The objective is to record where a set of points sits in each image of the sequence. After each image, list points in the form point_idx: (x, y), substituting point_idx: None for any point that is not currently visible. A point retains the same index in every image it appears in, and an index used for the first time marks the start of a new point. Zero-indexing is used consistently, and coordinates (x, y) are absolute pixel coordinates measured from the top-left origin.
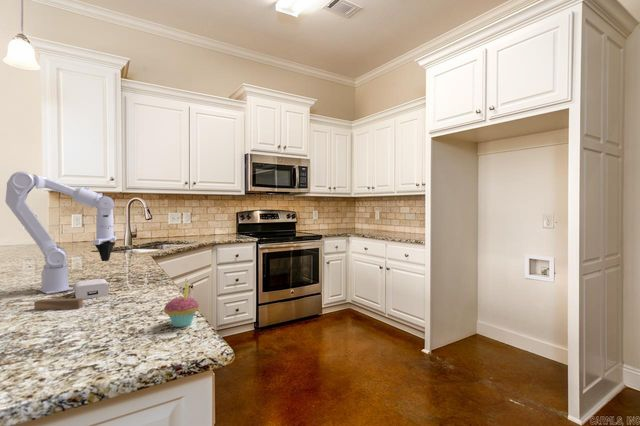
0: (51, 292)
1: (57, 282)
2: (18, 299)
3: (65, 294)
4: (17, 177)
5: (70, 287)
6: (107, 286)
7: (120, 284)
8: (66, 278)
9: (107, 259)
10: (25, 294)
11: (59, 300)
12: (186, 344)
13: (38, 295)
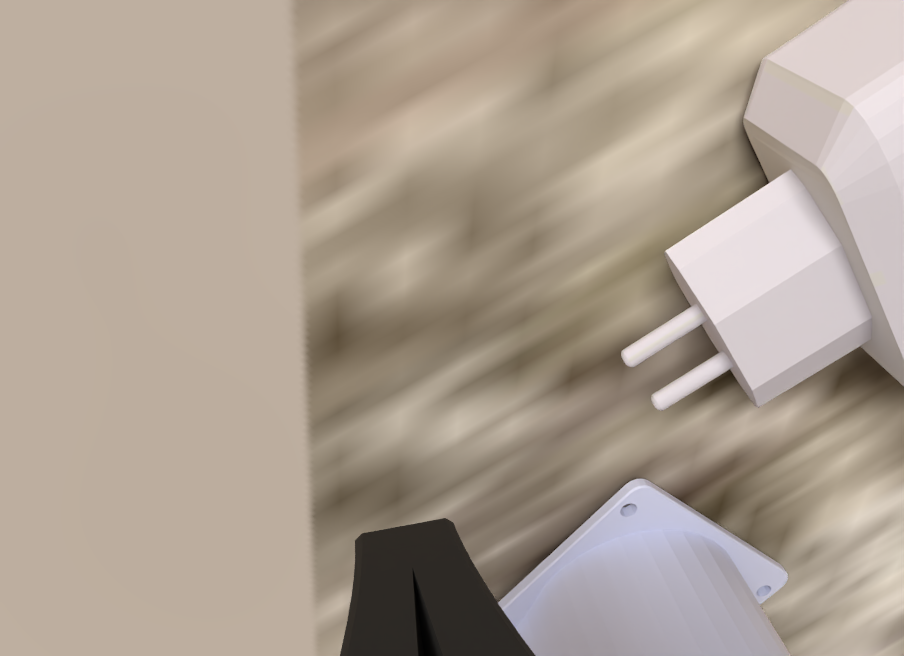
0: (768, 558)
1: (769, 625)
2: (895, 633)
3: (835, 412)
4: None
5: (597, 530)
6: None
7: (347, 26)
8: (701, 631)
9: (460, 545)
10: None
11: None
12: None
13: (799, 598)
